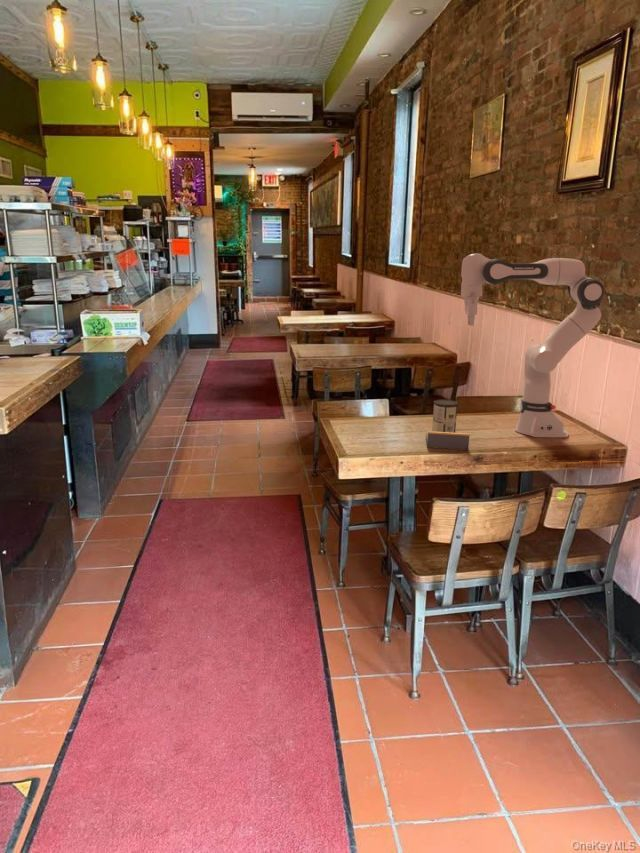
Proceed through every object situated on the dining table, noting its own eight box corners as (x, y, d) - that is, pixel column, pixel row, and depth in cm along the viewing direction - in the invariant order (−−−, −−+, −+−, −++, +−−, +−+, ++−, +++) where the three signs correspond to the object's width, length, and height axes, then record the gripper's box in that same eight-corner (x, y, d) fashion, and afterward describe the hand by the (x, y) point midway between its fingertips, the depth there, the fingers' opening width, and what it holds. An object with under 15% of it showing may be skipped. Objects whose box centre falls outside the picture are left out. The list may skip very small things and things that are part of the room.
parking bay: (464, 440, 265) (466, 425, 263) (468, 450, 252) (469, 434, 250) (425, 438, 267) (426, 423, 265) (426, 447, 254) (428, 432, 252)
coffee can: (439, 428, 282) (441, 398, 279) (459, 433, 276) (462, 402, 272) (426, 433, 275) (429, 401, 271) (447, 438, 268) (450, 406, 265)
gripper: (481, 292, 259) (480, 326, 261) (477, 292, 278) (476, 324, 281) (465, 292, 260) (464, 326, 262) (462, 293, 279) (462, 324, 282)
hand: (470, 325), depth 272 cm, fingers open, 8 cm apart
